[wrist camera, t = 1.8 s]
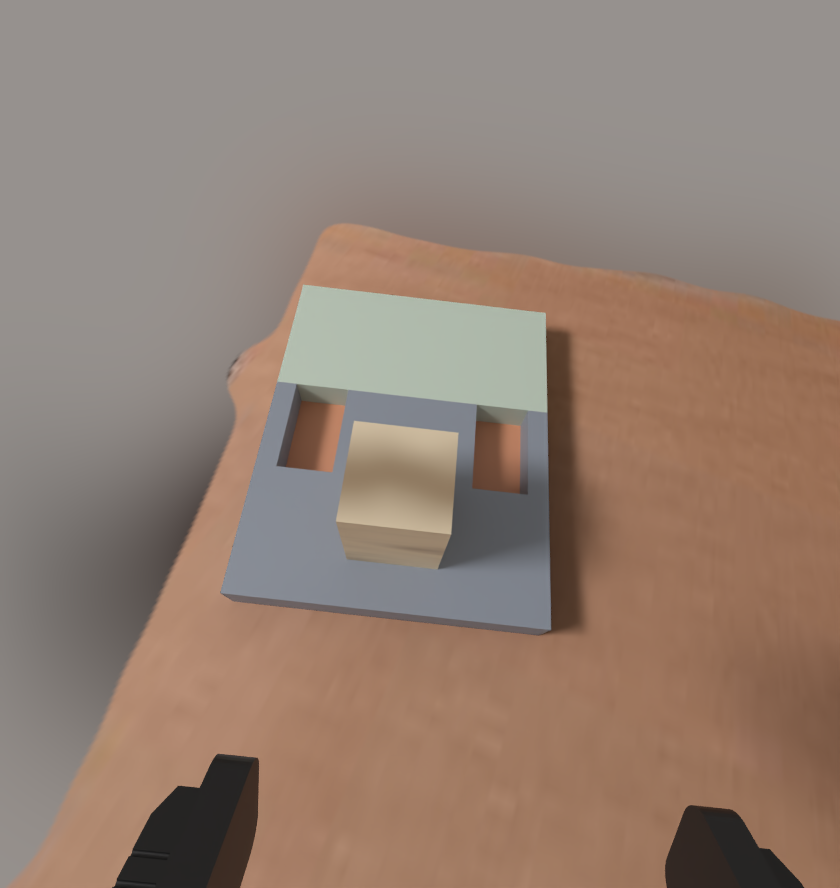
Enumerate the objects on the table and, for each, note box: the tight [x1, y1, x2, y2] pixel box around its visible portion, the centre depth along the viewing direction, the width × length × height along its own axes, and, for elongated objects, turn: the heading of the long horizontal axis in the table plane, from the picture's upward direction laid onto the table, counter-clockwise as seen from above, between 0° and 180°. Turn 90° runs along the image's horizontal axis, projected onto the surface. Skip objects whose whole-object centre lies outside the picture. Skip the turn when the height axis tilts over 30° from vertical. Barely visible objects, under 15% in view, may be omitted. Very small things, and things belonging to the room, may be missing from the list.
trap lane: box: [220, 285, 551, 635], centre depth 39 cm, size 26×21×3 cm
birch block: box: [336, 421, 458, 569], centre depth 31 cm, size 6×6×8 cm
